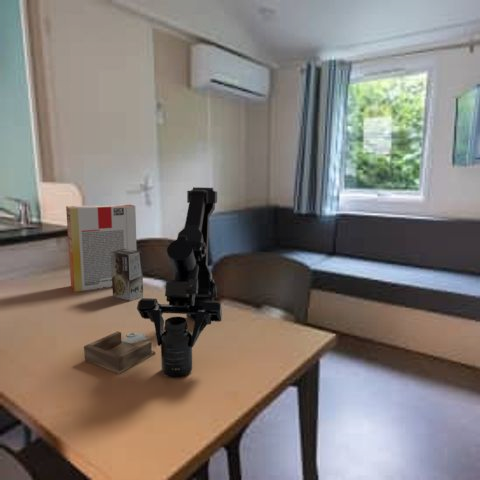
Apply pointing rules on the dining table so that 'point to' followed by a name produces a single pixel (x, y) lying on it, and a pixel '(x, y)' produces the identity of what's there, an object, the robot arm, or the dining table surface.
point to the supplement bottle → (176, 348)
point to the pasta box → (97, 241)
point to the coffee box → (127, 274)
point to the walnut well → (116, 353)
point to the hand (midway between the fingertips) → (175, 346)
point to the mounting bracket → (134, 338)
